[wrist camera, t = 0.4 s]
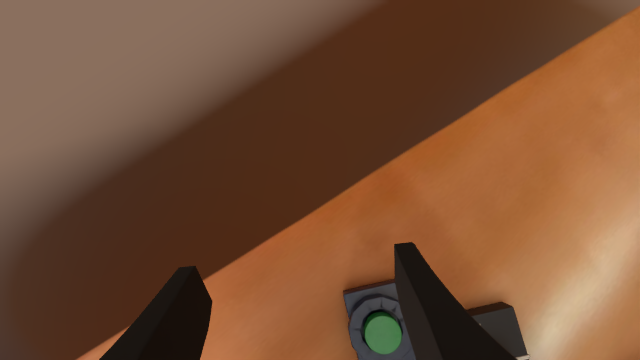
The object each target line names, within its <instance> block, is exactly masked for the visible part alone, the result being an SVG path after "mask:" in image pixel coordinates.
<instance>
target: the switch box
mask: <svg viewBox="0 0 640 360" xmlns="http://www.w3.org/2000/svg"><path fill="white" fill-rule="evenodd" d="M343 295H344V300H345V304H346V308H347V313H348V317H349V322H348V330H349V334H350V339H351V343H352V346H353V348H354V349H355V350H356V351H357V355H358V360H416V357H415V354H414V351H413V348H412V345H411V342H410V338H409V335H408V332H407V329H406V326H405V323H404V320H403V316H402V313H401V310H400V305H399V300H398V295H397V290H396V285H395V279H392V280H388V281H384V282H379V283H375V284H371V285H366V286H362V287H358V288H353V289H349V290H345V291H343ZM376 312H385V313H388V314H390V315H391V316H393V317H394V318H395V320H396V321H397V323H398V324H399V326H400V328H401V332H402V340H401V343H400V345H399V347H398V348H397V349H396V350H395V351H394V352H392V353H389V354H379V353H376V352H374V351H373V350H372V349H371V348H370V347H369V346H368V344H367V342H366V340H365V336H364V324H365V321H366V320H367V318H368V317H369V316H370V315H372V314H373V313H376Z"/></svg>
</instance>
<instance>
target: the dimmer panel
mask: <svg viewBox="0 0 640 360" xmlns="http://www.w3.org/2000/svg"><path fill="white" fill-rule="evenodd" d="M466 311H467V312H468V313H469V314H470V315H471V316H472V317H473V318H474V319H475V320H476V321H477V322H478V323H479V324H480V325H481V326H482V327H483V328H484V329H485V330H486V331H487V332H488V333H489V334H490V335H491V336H492V337H493V338H494V339H495V340H496V341H497V342H498V343H500V344H501V345H502V346H503V347H504V348H505V349H506V350H507V351H508V352H509V353H511V354H512V355H513V356H514V357H515V358H517V359H518V360H529V359H531V358H530V355H529V354H527V351H526V348H525V345H524V341H523V338H522V335H521V331H520V328H519V325H518V321H517V318H516V315H515V312H514V308H513V307H512V306H510V305H508V304H506V303H503V302H499V303H495V304H491V305H486V306H482V307H477V308H473V309H469V310H466Z"/></svg>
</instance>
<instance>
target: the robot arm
mask: <svg viewBox="0 0 640 360" xmlns="http://www.w3.org/2000/svg"><path fill="white" fill-rule="evenodd" d="M394 256H395V285H396V290H397V295H398V300H399V305H400V310H401V313H402V316H403V320H404V323H405V326H406V329H407V332H408V335H409V338H410V342H411V345H412V348H413V351H414V354H415V357H416V360H518V359H517V358H515V357H514V356H513V355H512V354H511V353H509V352H508V351H507V350H506V349H505V348H504V347H503V346H502V345H501V344H500V343H498V342H497V341H496V340H495V339H494V338H493V337H492V336H491V335H490V334H489V333H488V332H487V331H486V330H485V329H484V328H483V327H482V326H481V325H480V324H479V323H478V322H477V321H476V320H475V319H474V318H473V317H472V316H471V315H470V314H469V313H468V312H467V311H466V310H465V309H464V308H463V306H462V305H461V304H460V303H459V302H458V301H457V300H456V299H455V297H454V296H453V295H452V294H451V293H450V292H449V290H448V289H447V288H446V287H445V285H444V284H443V283H442V282H441V281H440V279H439V278H438V277H437V276H436V274H435V273H434V272H433V270H432V269H431V268H430V266H429V265H428V264H427V262H426V261H425V259H424V258H423V256H422V255H421V253H420V252H419V250H418V249H417V247H416V245H415V244H414V243H412V242H409V243H400V244H394ZM211 308H212V300H211V297H210V295H209V293H208V291H207V289H206V287H205V285H204V283H203V281H202V279H201V277H200V275H199V272H198V271H197V268H196V266H189V267H180V268H178V270H177V271H176V272H175V273H174V274H173V276H172V277H171V278H170V279H169V280H168V282H167V283H166V284H165V285H164V287H163V288H162V289H161V290H160V291H159V293H158V294H157V295H156V296H155V298H154V299H153V300H152V301H151V302H150V304H149V305H148V306H147V307H146V308H145V310H144V311H143V312H142V313H141V315H140V316H139V317H138V318H137V319H136V320H135V321H134V323H133V324H132V325H131V326H130V327H129V328H128V329H127V330H126V331H125V333H124V334H123V335H122V336H121V337H120V338H119V339H118V340H117V341H116V342H115V344H114V345H113V346H112V347H111V348H110V349H109V350H108V351H107V352H106V353H105V354H104V355H103V356H102V357H101V358H100V359H99V360H200V357H201V354H202V350H203V346H204V343H205V339H206V336H207V332H208V327H209V321H210V315H211Z"/></svg>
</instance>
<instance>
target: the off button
mask: <svg viewBox="0 0 640 360" xmlns="http://www.w3.org/2000/svg"><path fill="white" fill-rule="evenodd" d="M364 336H365V340H366V342H367V344H368V346H369V347H370V348H371V349H372V350H373V351H374V352H376V353H379V354H389V353H392V352H394V351H395V350H396V349H397V348H398V347H399V345H400V343H401V340H402V332H401V328H400V326H399V324H398V323H397V321H396V320H395V318H394V317H393V316H391V315H390V314H388V313H385V312H376V313H373V314H372V315H370V316H369V317H368V318H367V320H366V321H365V324H364Z"/></svg>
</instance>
